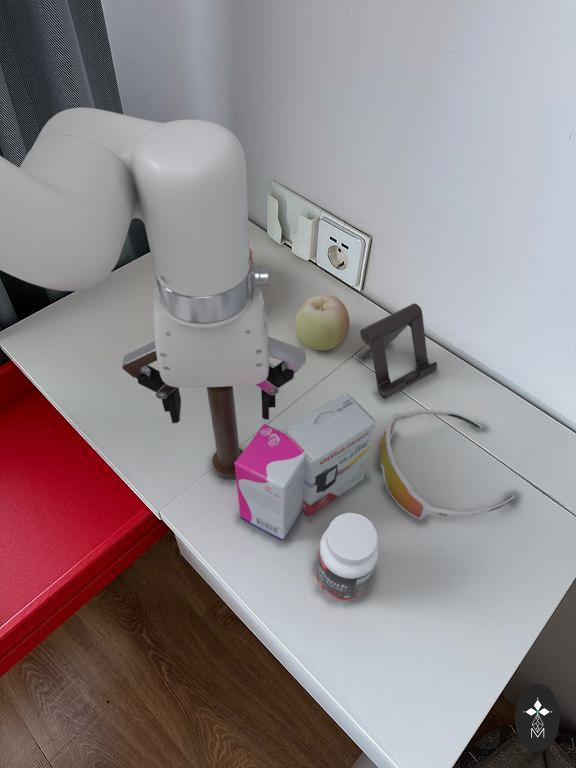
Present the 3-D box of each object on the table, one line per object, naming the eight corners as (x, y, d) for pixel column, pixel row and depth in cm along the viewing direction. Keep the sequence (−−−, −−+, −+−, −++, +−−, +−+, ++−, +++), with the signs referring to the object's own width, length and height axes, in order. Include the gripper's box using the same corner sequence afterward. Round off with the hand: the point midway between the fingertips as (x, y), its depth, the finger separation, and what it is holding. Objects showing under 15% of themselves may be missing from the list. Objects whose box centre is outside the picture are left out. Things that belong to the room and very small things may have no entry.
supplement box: (309, 500, 66) (313, 445, 57) (283, 542, 62) (283, 491, 53) (265, 477, 67) (263, 421, 58) (238, 518, 64) (231, 464, 55)
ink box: (307, 518, 64) (312, 463, 55) (281, 487, 67) (282, 429, 58) (365, 479, 68) (378, 421, 58) (338, 450, 70) (347, 390, 61)
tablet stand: (384, 402, 75) (394, 360, 68) (348, 364, 79) (354, 321, 72) (434, 374, 78) (448, 331, 71) (397, 339, 82) (406, 295, 76)
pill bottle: (304, 574, 60) (308, 533, 53) (340, 538, 63) (349, 495, 55) (345, 614, 58) (355, 578, 50) (381, 575, 60) (396, 535, 53)
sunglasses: (361, 429, 72) (371, 405, 68) (470, 424, 75) (485, 400, 71) (392, 534, 63) (407, 513, 59) (514, 523, 66) (534, 502, 63)
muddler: (212, 480, 67) (198, 399, 55) (213, 451, 70) (199, 367, 58) (246, 479, 67) (239, 397, 55) (246, 450, 70) (239, 366, 58)
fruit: (336, 366, 79) (341, 325, 72) (287, 350, 80) (287, 308, 74) (354, 330, 83) (360, 288, 77) (307, 315, 85) (310, 273, 79)
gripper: (307, 251, 49) (301, 379, 63) (103, 257, 49) (141, 385, 62) (315, 312, 45) (306, 436, 58) (89, 319, 44) (133, 444, 57)
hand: (221, 410), depth 60 cm, fingers open, 8 cm apart
